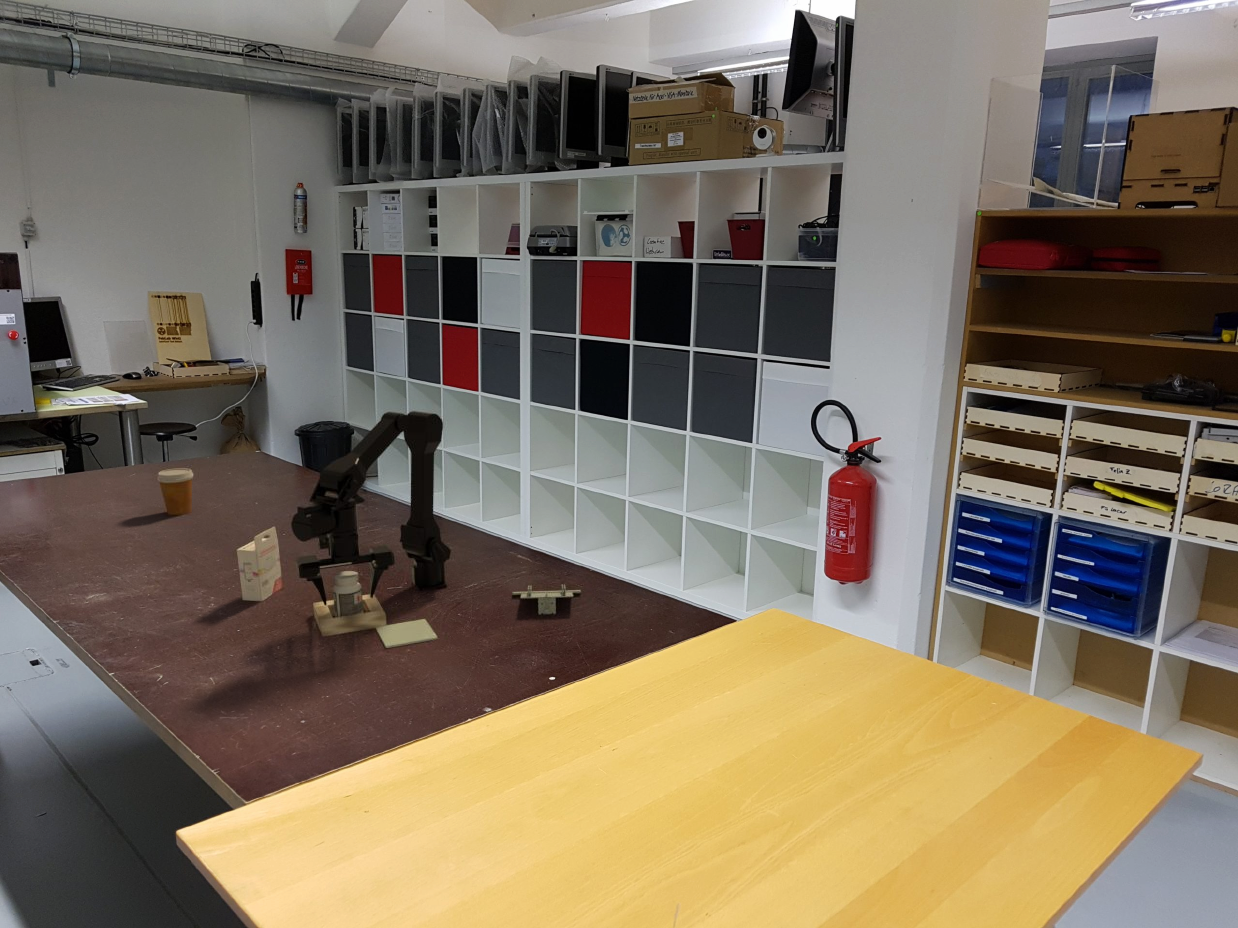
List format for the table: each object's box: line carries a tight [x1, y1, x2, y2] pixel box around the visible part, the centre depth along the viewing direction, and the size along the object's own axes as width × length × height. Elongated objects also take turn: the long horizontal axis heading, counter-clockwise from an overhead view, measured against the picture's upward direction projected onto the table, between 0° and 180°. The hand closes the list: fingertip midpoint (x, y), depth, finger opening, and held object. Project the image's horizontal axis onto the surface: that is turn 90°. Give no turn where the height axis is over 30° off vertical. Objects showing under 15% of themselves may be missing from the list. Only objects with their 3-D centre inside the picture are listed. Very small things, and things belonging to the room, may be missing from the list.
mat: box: [375, 618, 438, 649], centre depth 185 cm, size 10×10×1 cm
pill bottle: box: [332, 570, 365, 618], centre depth 190 cm, size 6×6×10 cm
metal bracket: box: [511, 584, 582, 615], centre depth 201 cm, size 14×6×15 cm
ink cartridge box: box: [236, 526, 283, 602], centre depth 204 cm, size 9×5×15 cm, turn 168°
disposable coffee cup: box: [156, 467, 194, 516], centre depth 266 cm, size 10×10×12 cm
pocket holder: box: [312, 593, 387, 637], centre depth 191 cm, size 12×12×2 cm
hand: (348, 600), depth 191 cm, fingers open, 9 cm apart
